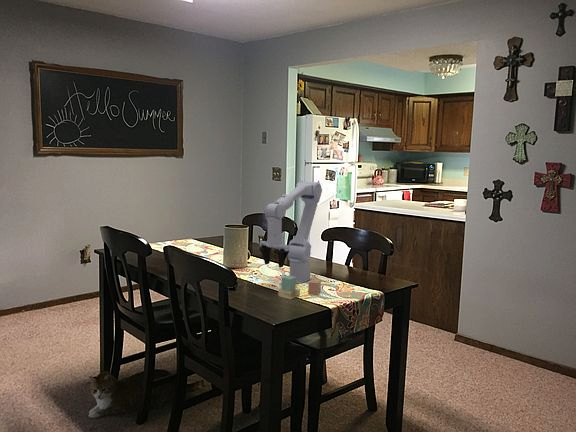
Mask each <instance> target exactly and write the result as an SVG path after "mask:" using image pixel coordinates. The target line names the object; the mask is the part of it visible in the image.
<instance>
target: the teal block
mask: <svg viewBox="0 0 576 432" xmlns="http://www.w3.org/2000/svg"><path fill="white" fill-rule="evenodd" d="M280 289H281V290H284V291H288V292H290V291H293V290H296V289H297V283H296V277H293V276H289V275H285V276H282V277H281V288H280Z"/></svg>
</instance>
